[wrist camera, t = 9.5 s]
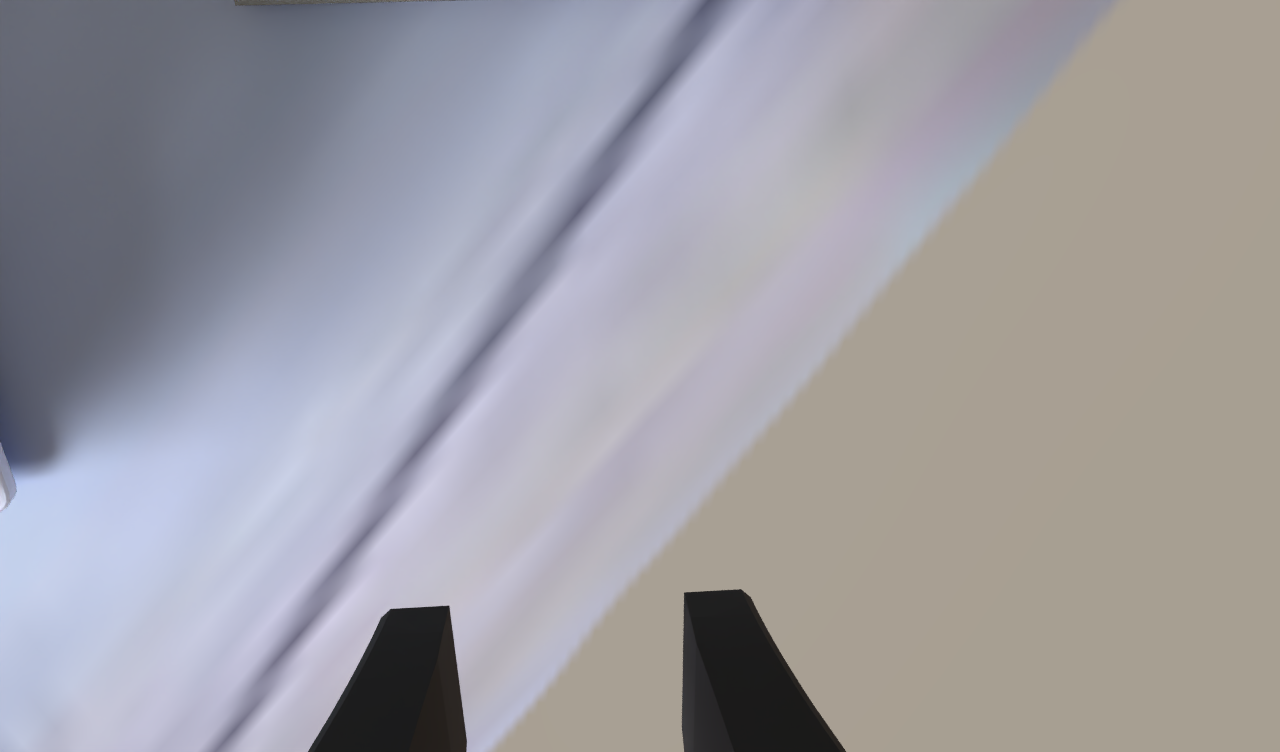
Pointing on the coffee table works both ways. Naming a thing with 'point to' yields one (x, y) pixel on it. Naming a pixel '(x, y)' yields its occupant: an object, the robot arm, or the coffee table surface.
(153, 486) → the coffee table surface
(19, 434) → the coffee table surface
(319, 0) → the mat
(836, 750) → the robot arm
